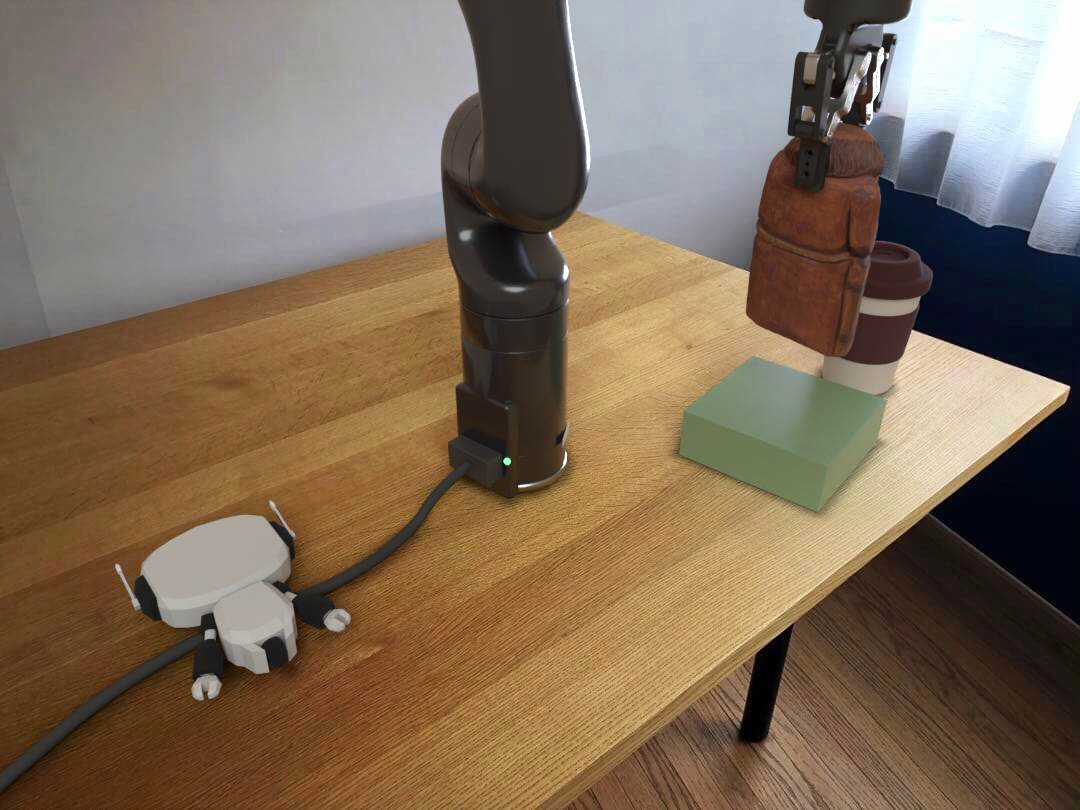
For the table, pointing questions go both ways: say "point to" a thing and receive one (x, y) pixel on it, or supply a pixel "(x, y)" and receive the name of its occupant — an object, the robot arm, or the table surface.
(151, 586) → the robot toy
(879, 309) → the coffee cup
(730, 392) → the green block
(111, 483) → the table surface
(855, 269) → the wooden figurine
